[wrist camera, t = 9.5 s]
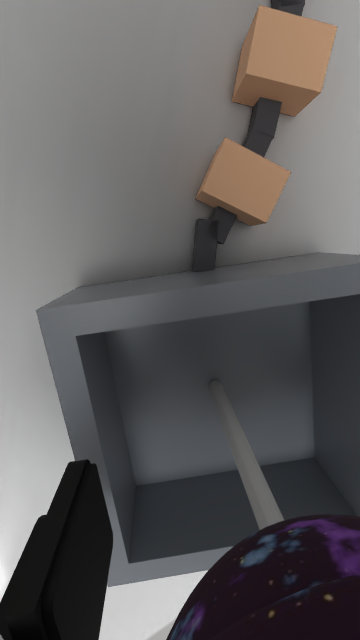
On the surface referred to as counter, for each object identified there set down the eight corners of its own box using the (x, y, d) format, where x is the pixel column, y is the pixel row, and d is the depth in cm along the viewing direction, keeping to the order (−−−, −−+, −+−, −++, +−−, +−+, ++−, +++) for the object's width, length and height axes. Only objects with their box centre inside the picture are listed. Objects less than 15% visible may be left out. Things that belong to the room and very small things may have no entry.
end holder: (77, 287, 14) (35, 310, 9) (319, 252, 15) (397, 257, 10) (122, 490, 17) (108, 586, 12) (323, 457, 18) (386, 539, 13)
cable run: (253, -195, 11) (276, -304, 9) (354, -165, 11) (401, -263, 9) (185, 268, 14) (189, 273, 12) (262, 279, 15) (280, 285, 13)
